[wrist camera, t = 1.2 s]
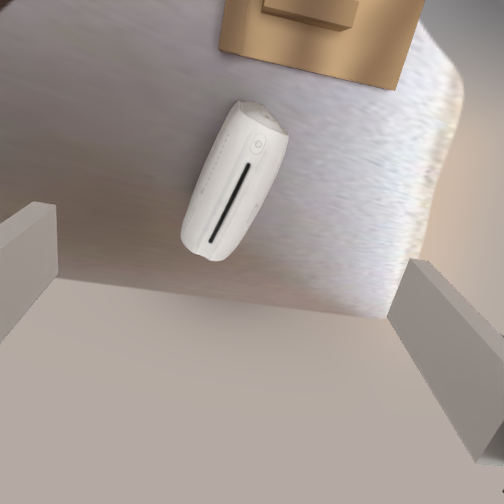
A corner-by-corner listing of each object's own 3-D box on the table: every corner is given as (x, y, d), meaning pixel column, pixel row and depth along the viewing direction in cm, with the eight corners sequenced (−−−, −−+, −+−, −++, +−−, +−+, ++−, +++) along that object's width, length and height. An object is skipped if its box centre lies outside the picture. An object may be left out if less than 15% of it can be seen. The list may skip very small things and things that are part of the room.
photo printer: (236, 89, 32) (235, 101, 21) (282, 114, 33) (305, 138, 22) (187, 198, 36) (164, 258, 25) (230, 217, 37) (226, 283, 25)
